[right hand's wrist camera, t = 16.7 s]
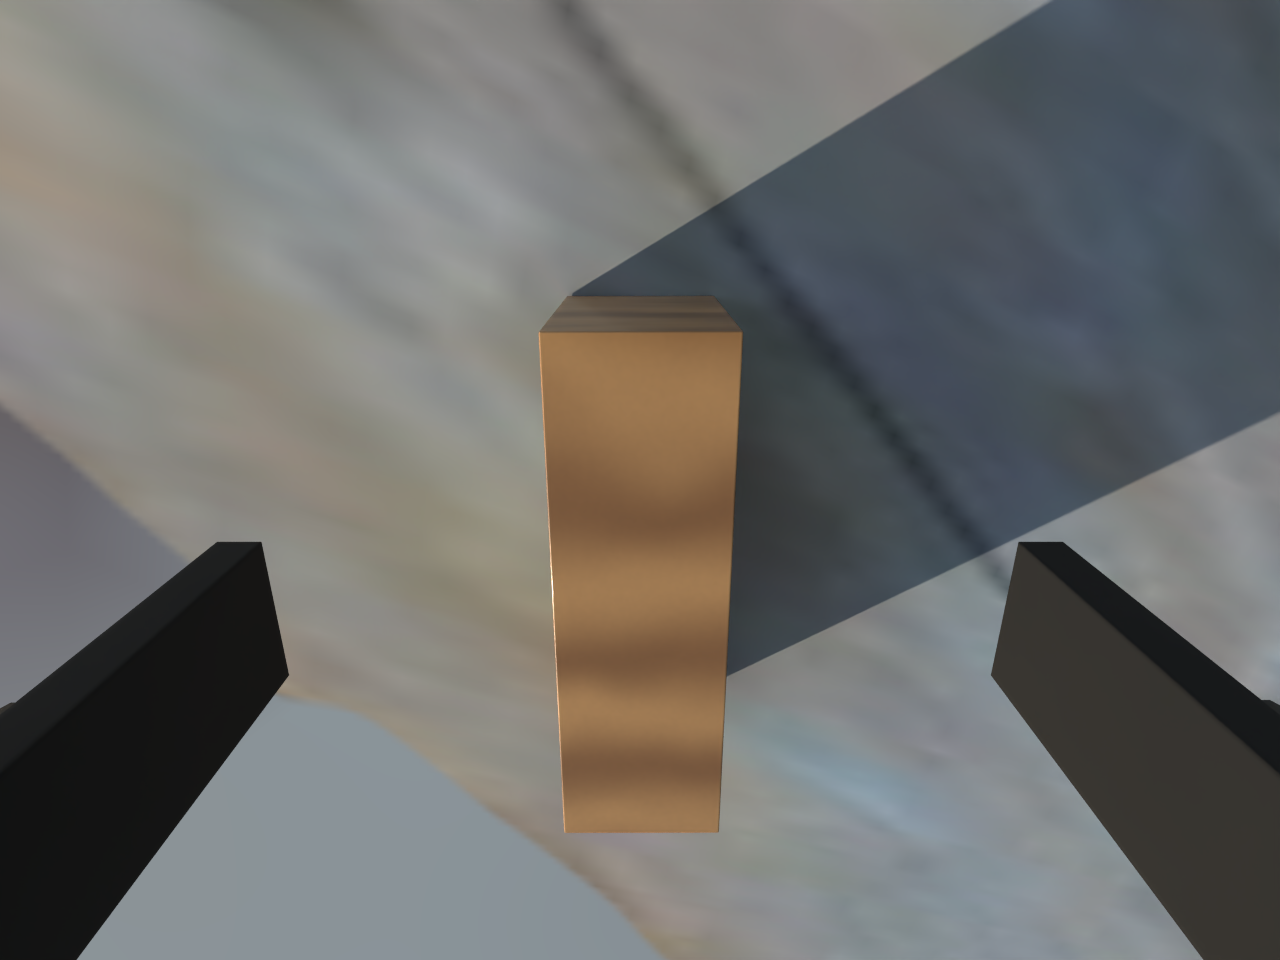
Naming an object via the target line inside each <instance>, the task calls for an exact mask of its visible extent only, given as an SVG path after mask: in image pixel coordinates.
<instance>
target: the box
mask: <svg viewBox="0 0 1280 960" xmlns="http://www.w3.org/2000/svg"><path fill="white" fill-rule="evenodd" d="M742 347H743V331H742V330H741V329H740V327H739V326H738V325H737V324H736V323H735V321H734V320H733V319H732V318H731V316H730V315H729V314H728V313H727V311H726V310H725V309H724V308H723V307H722V305H721V304H720V303H719V302H718V300H717V299H716V298H715V297H714V296H567V297H566V299H565V300H564V301H563V302H562V304H561V305H560V306H559V307H558V309H557V310H556V311H555V312H554V314H553V315H552V316H551V317H550V319H549V320H548V321H547V323H546V324H545V325H544V326H543V328H542V329H541V330H540V331H539V348H540V368H541V387H542V407H543V426H544V445H545V465H546V484H547V504H548V523H549V543H550V562H551V581H552V601H553V620H554V640H555V659H556V678H557V698H558V717H559V737H560V756H561V776H562V795H563V814H564V832H565V833H700V832H719V817H720V797H721V776H722V756H723V735H724V715H725V694H726V674H727V654H728V633H729V613H730V592H731V572H732V551H733V531H734V511H735V490H736V470H737V449H738V429H739V408H740V388H741V367H742Z"/></svg>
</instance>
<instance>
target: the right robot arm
mask: <svg viewBox="0 0 1280 960" xmlns="http://www.w3.org/2000/svg"><path fill="white" fill-rule="evenodd" d="M288 676H289V673H288V668H287V663H286V659H285V654H284V649H283V644H282V639H281V634H280V630H279V625H278V620H277V615H276V610H275V605H274V601H273V596H272V591H271V586H270V581H269V576H268V572H267V567H266V562H265V557H264V552H263V547H262V543H261V542H216V543H215V544H214V545H213V546H211V547H210V548H209V549H208V550H206V551H205V552H204V553H203V554H201V555H200V556H199V557H198V558H196V559H195V560H194V561H193V562H191V563H190V564H189V565H188V566H186V567H185V568H184V569H183V570H181V571H180V572H179V573H178V574H176V575H175V576H174V577H173V578H171V579H170V580H169V581H168V582H166V583H165V584H164V585H163V586H161V587H160V588H159V589H157V590H156V591H155V592H154V593H152V594H151V595H150V596H149V597H147V598H146V599H145V600H144V601H142V602H141V603H140V604H139V605H137V606H136V607H135V608H134V609H132V610H131V611H130V612H129V613H127V614H126V615H125V616H124V617H122V618H121V619H120V620H119V621H117V622H116V623H115V624H114V625H112V626H111V627H110V628H109V629H107V630H106V631H105V632H103V633H102V634H101V635H100V636H98V637H97V638H96V639H95V640H93V641H92V642H91V643H90V644H88V645H87V646H86V647H85V648H83V649H82V650H81V651H80V652H78V653H77V654H76V655H75V656H73V657H72V658H71V659H70V660H68V661H67V662H66V663H65V664H63V665H62V666H61V667H60V668H58V669H57V670H56V671H55V672H53V673H52V674H51V675H50V676H48V677H47V678H46V679H44V680H43V681H42V682H41V683H39V684H38V685H37V686H36V687H34V688H33V689H32V690H31V691H29V692H28V693H27V694H26V695H24V696H23V697H22V698H21V699H19V700H18V701H17V702H16V703H9V704H8V705H6V706H4V707H2V708H0V960H77V958H78V957H79V956H80V954H81V953H82V952H83V950H84V949H85V948H86V946H87V945H88V944H89V942H90V941H91V940H92V938H93V937H94V935H95V934H96V933H97V932H98V930H99V929H100V928H101V926H102V925H103V924H104V922H105V921H106V920H107V918H108V917H109V916H110V914H111V913H112V911H113V910H114V909H115V907H116V906H117V905H118V903H119V902H120V901H121V899H122V898H123V897H124V895H125V894H126V893H127V891H128V890H129V889H130V887H131V886H132V885H133V883H134V882H135V881H136V879H137V878H138V877H139V875H140V874H141V873H142V871H143V870H144V869H145V867H146V866H147V865H148V863H149V862H150V861H151V859H152V858H153V857H154V855H155V854H156V853H157V851H158V850H159V849H160V847H161V846H162V845H163V843H164V842H165V840H166V839H167V838H168V837H169V835H170V834H171V832H172V831H173V830H174V828H175V827H176V826H177V824H178V823H179V822H180V820H181V819H182V818H183V816H184V815H185V814H186V812H187V811H188V810H189V808H190V807H191V806H192V804H193V803H194V802H195V800H196V799H197V798H198V796H199V795H200V794H201V792H202V791H203V790H204V788H205V787H206V786H207V784H208V783H209V782H210V780H211V779H212V778H213V776H214V775H215V774H216V772H217V771H218V770H219V768H220V767H221V766H222V764H223V763H224V761H225V760H226V759H227V758H228V756H229V755H230V753H231V752H232V751H233V749H234V748H235V747H236V745H237V744H238V743H239V741H240V740H241V739H242V737H243V736H244V735H245V733H246V732H247V731H248V729H249V728H250V727H251V725H252V724H253V723H254V721H255V720H256V719H257V717H258V716H259V715H260V713H261V712H262V711H263V709H264V708H265V707H266V705H267V704H268V703H269V701H270V700H271V699H272V697H273V696H274V695H275V693H276V692H277V691H278V689H279V688H280V687H281V685H282V684H283V683H284V681H285V680H286V679H287V677H288ZM991 676H992V677H993V679H994V680H995V681H996V683H997V684H998V685H999V687H1000V688H1001V689H1002V691H1003V692H1004V693H1005V695H1006V696H1007V697H1008V699H1009V700H1010V701H1011V703H1012V704H1013V705H1014V707H1015V708H1016V709H1017V711H1018V712H1019V713H1020V715H1021V716H1022V717H1023V719H1024V720H1025V721H1026V723H1027V724H1028V725H1029V727H1030V728H1031V729H1032V731H1033V732H1034V733H1035V735H1036V736H1037V737H1038V739H1039V740H1040V741H1041V743H1042V744H1043V745H1044V747H1045V748H1046V749H1047V751H1048V752H1049V754H1050V755H1051V756H1052V758H1053V759H1054V760H1055V762H1056V763H1057V764H1058V766H1059V767H1060V768H1061V770H1062V771H1063V772H1064V774H1065V775H1066V776H1067V778H1068V779H1069V780H1070V782H1071V783H1072V784H1073V786H1074V787H1075V788H1076V790H1077V791H1078V792H1079V794H1080V795H1081V796H1082V798H1083V799H1084V800H1085V802H1086V803H1087V804H1088V806H1089V807H1090V808H1091V810H1092V811H1093V812H1094V814H1095V815H1096V816H1097V818H1098V819H1099V820H1100V822H1101V823H1102V824H1103V826H1104V827H1105V828H1106V830H1107V831H1108V833H1109V834H1110V835H1111V837H1112V838H1113V839H1114V841H1115V842H1116V843H1117V845H1118V846H1119V847H1120V849H1121V850H1122V851H1123V853H1124V854H1125V855H1126V857H1127V858H1128V859H1129V861H1130V862H1131V863H1132V865H1133V866H1134V867H1135V869H1136V870H1137V871H1138V873H1139V874H1140V875H1141V877H1142V878H1143V879H1144V881H1145V882H1146V883H1147V885H1148V886H1149V887H1150V889H1151V890H1152V891H1153V893H1154V894H1155V895H1156V897H1157V898H1158V899H1159V901H1160V902H1161V903H1162V905H1163V906H1164V907H1165V909H1166V910H1167V911H1168V913H1169V914H1170V916H1171V917H1172V918H1173V920H1174V921H1175V922H1176V924H1177V925H1178V926H1179V928H1180V929H1181V930H1182V932H1183V933H1184V934H1185V936H1186V937H1187V938H1188V940H1189V941H1190V942H1191V944H1192V945H1193V946H1194V948H1195V949H1196V950H1197V952H1198V953H1199V954H1200V956H1201V957H1202V958H1203V960H1280V705H1278V704H1276V703H1274V702H1273V701H1271V700H1261V699H1259V698H1258V697H1257V696H1256V695H1254V694H1253V693H1252V692H1251V691H1249V690H1248V689H1247V688H1246V687H1244V686H1243V685H1242V684H1241V683H1239V682H1238V681H1237V680H1236V679H1234V678H1233V677H1232V676H1231V675H1229V674H1228V673H1227V672H1226V671H1224V670H1223V669H1222V668H1220V667H1219V666H1218V665H1217V664H1215V663H1214V662H1213V661H1212V660H1210V659H1209V658H1208V657H1207V656H1205V655H1204V654H1203V653H1202V652H1200V651H1199V650H1198V649H1197V648H1195V647H1194V646H1193V645H1192V644H1190V643H1189V642H1188V641H1187V640H1185V639H1184V638H1183V637H1182V636H1180V635H1179V634H1178V633H1177V632H1175V631H1174V630H1173V629H1172V628H1170V627H1169V626H1168V625H1166V624H1165V623H1164V622H1163V621H1161V620H1160V619H1159V618H1158V617H1156V616H1155V615H1154V614H1153V613H1151V612H1150V611H1149V610H1148V609H1146V608H1145V607H1144V606H1143V605H1141V604H1140V603H1139V602H1138V601H1136V600H1135V599H1134V598H1133V597H1131V596H1130V595H1129V594H1128V593H1126V592H1125V591H1124V590H1123V589H1121V588H1120V587H1119V586H1118V585H1116V584H1115V583H1114V582H1112V581H1111V580H1110V579H1109V578H1107V577H1106V576H1105V575H1104V574H1102V573H1101V572H1100V571H1099V570H1097V569H1096V568H1095V567H1094V566H1092V565H1091V564H1090V563H1089V562H1087V561H1086V560H1085V559H1084V558H1082V557H1081V556H1080V555H1079V554H1077V553H1076V552H1075V551H1074V550H1072V549H1071V548H1070V547H1069V546H1067V545H1066V544H1065V543H1064V542H1019V543H1018V547H1017V552H1016V557H1015V562H1014V567H1013V572H1012V576H1011V581H1010V586H1009V591H1008V596H1007V601H1006V605H1005V610H1004V615H1003V620H1002V625H1001V630H1000V634H999V639H998V644H997V649H996V654H995V659H994V663H993V668H992V673H991Z"/></svg>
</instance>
